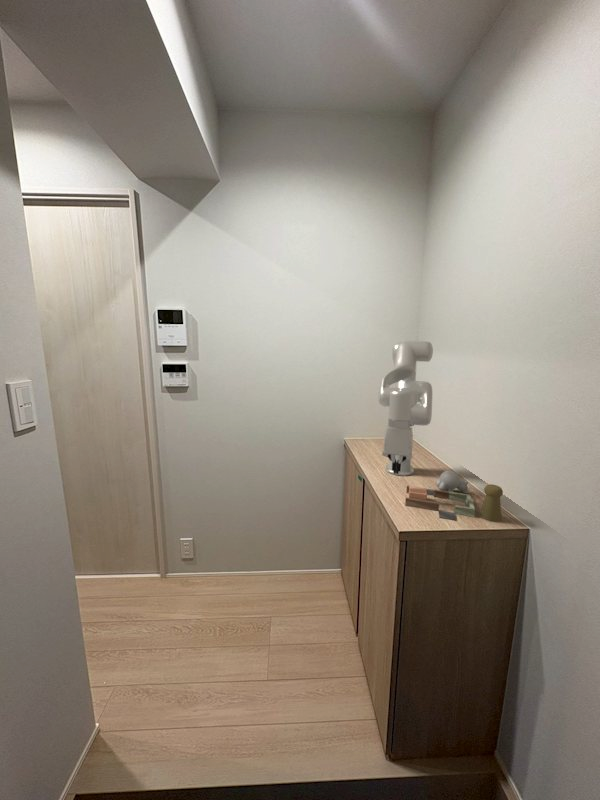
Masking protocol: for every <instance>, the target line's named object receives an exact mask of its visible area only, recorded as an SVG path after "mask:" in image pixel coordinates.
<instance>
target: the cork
mask: <svg viewBox="0 0 600 800" xmlns="http://www.w3.org/2000/svg"><path fill="white" fill-rule="evenodd" d="M483 490H484V494H485V496H484V498H483V499H484V500H483V504H482V507H481V512H480V513H479V514H480V517H481V518H482V519H483V520H486V521H488V522H492V523H500V522H501V521H502V509H501V508H502V507H501V506H502V504H501V497H503V493H504V492H503V489H502V487H501V486H499V485H496V484H490V483H489V484H486V485H485V486H484V489H483Z"/></svg>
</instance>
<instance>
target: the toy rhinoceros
mask: <svg viewBox="0 0 600 800" xmlns="http://www.w3.org/2000/svg"><path fill="white" fill-rule="evenodd" d="M468 484H469V482H468V481H466V478H463V479H461V478H460V475H459V474H458V472H456V471H454V470H449V469H448V470H445V471H443V472H442V473H441V474H440V476H439V480H437V481H436V482H435V485H436V487H437V488H438V490H441V491H448V492H454V490H455V489H456V490H458V491H460V493H462V494H468V492H469V491H470V490H471V487H472V486H468Z"/></svg>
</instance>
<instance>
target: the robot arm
mask: <svg viewBox="0 0 600 800" xmlns="http://www.w3.org/2000/svg"><path fill="white" fill-rule="evenodd" d="M433 347H434V346H433V345H432V342H430V341H425V340H423V341H422V340H421V341H420V340H419V341H417V340H415V341H413V340H411V341H410V340H409V341H403V342H402V341H401V342H398V343H397V342H396V343H395V344H393V346H392V350H391V354H392V360H393V365H394V367H393V368H392V369H390V370H389V371H388V372H386V374H385V375H384V376H383V377H382V379H381V381H380V384H379V390H378V402H379V405H380V406H382V407H387V408H388V423H387V426H386V427H385V430H384V436H383V445H382V453H381V455H382V456H383V457H386V458H388V459H389V460H388V464H387V465H385V468H384V469H385V471H386V472H387V473H389V474H391V475H395V476H403V477H404V476H412V475H413V474H414V473H415V469H414V468H413V467H412V459H413V443H414V442H413V439H414V437H413V436H414V435H413V428H412V426H426V427H427V426H429V424H431V421H432V412H433V386H432V383H430V382H428V381H425V380H421V381H419V380H416V376H417V373H416V369H417V368H416V367H417V365H416V364H417V362H423V363H424V362H430V361H431V360H432V359H433V353H434V349H433ZM393 384H395V387H390V386H391V385H393Z"/></svg>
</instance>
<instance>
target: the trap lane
mask: <svg viewBox="0 0 600 800" xmlns="http://www.w3.org/2000/svg"><path fill="white" fill-rule="evenodd" d="M409 486H410V485H406V494H409ZM412 486H413V485H412ZM413 487H415V485H414V486H413ZM426 490H427V496H432V497H434V498H437V499H438V498H439V499H444V500H449V501H450V500H452V501H457V502H458V501H459V502H464V503H466V506H463V505H458V504H457V505H456V504H455V505H454V512H453V511H446V510H441V509H440V502H437V501H430V500H427V501H425V500H419V499H413V498H409V497H405V499H404V500H405V501H404V502H405V503H404V506H407V507H411V508H412V507H413V508H419V509H424V510H425V509H426V510H430V511H438V515H439V519H442V520H443V519H445V520H449V521H450V520H451V521H455V522H456V521H457V518H456V517H457V516H456V515H461V516H466V517H474V518H475V516H476V515H475V514H476V507H475V505H474V502H473V500H472V496H471V494H468V493H466V494H464V493H462V492H454V491H453V492H448V491H442V490H440V489H431V488H426ZM439 509H440V510H439Z"/></svg>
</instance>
